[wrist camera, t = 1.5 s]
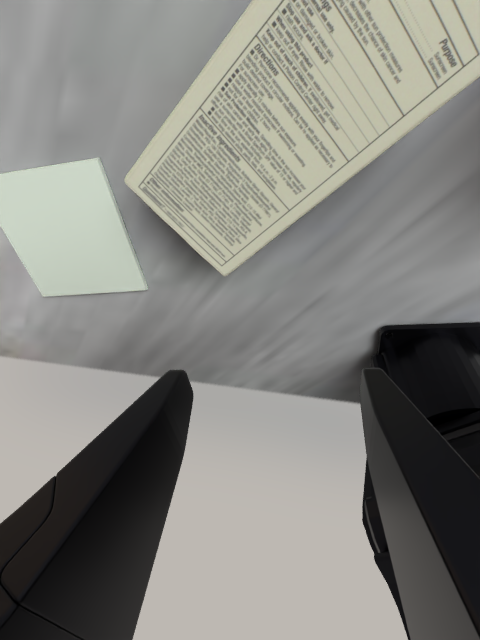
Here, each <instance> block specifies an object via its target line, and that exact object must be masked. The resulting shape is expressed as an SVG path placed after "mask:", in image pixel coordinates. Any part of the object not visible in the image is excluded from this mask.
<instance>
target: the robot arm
mask: <svg viewBox="0 0 480 640" xmlns="http://www.w3.org/2000/svg"><path fill="white" fill-rule="evenodd" d="M387 333H391V334H390V335H386V334H387ZM192 402H193V390H192V387H191V384H190V382H189V379H188V376H187V373H186V372H185V371H184V370H169V371H168V372H166V373H165V374H164V375H163V376H162V377H161V378H160V379H159V380H158V381H157V382H156V383H154V384H153V385H152V386H151V387H150V388H149V389H148V390H147V391H146V392H145V393H144V394H143V395H141V396H140V397H139V398H138V399H137V400H136V401H135V402H134V403H133V404H132V405H131V406H130V407H128V408H127V409H126V410H125V411H124V412H123V413H122V414H121V415H120V416H119V417H118V418H117V419H116V420H114V422H112V423H111V424H110V425H109V426H108V427H107V428H106V429H105V430H104V431H102V432H101V433H100V434H99V435H98V436H97V437H96V438H95V439H94V440H93V441H92V442H91V443H90V444H88V445H87V446H86V447H85V448H84V449H83V450H82V451H81V452H80V453H79V454H78V455H77V456H75V457H74V458H73V459H72V460H71V461H70V462H69V463H68V464H67V465H66V466H65V467H64V468H62V469H61V470H60V471H59V472H58V473H57V476H54V477H53V478H51V479H50V481H48V482H47V483H46V484H45V485H44V486H43V487H42V488H41V489H40V490H38V491H37V492H36V493H35V494H34V495H33V496H32V497H31V498H29V499H28V500H27V501H26V502H25V503H24V504H23V505H22V506H21V507H19V508H18V509H17V510H16V511H15V512H14V513H13V514H11V515H10V516H9V517H8V518H7V519H5V520H4V521H3V522H2V523H1V524H0V640H132V639H133V635H134V632H135V628H136V624H137V621H138V617H139V613H140V610H141V606H142V603H143V600H144V596H145V592H146V589H147V585H148V582H149V578H150V574H151V571H152V567H153V564H154V560H155V557H156V553H157V549H158V546H159V542H160V539H161V535H162V531H163V528H164V524H165V521H166V517H167V513H168V510H169V506H170V503H171V499H172V495H173V492H174V489H175V485H176V481H177V477H178V474H179V471H180V467H181V464H182V460H183V456H184V451H185V446H186V440H187V434H188V427H189V422H190V415H191V409H192ZM360 403H361V412H362V419H363V429H364V437H365V445H366V454H367V460H366V473H365V484H364V495H363V519H362V520H363V525H364V527H365V530H366V534H367V537H368V539H369V542H370V545H371V547H372V550H373V551H374V559H375V562H376V564H377V566H378V568H379V570H380V571H381V573H382V575H383V577H384V578H385V580H386V582H387V584H388V586H389V588H390V591H391V593H392V595H393V598H394V600H395V602H396V605H397V607H398V610H399V612H400V615H401V618H402V621H403V624H404V627H405V630H406V633H407V637H408V640H480V323H452V324H423V325H394V326H385V327H383V328H382V329H381V330H380V333H379V342H378V351H377V354H374V355H373V356H372V358H371V368H364V369H362V372H361V384H360Z"/></svg>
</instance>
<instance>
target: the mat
mask: <svg viewBox="0 0 480 640" xmlns="http://www.w3.org/2000/svg"><path fill="white" fill-rule="evenodd" d="M0 226H1V228H2V230H3V231H4V233H5V235H6V236H7V238H8V240H9V241H10V243H11V245H12V246H13V248H14V250H15V251H16V253H17V255H18V256H19V258H20V260H21V261H22V263H23V265H24V266H25V268H26V270H27V271H28V273H29V275H30V276H31V278H32V280H33V281H34V283H35V285H36V286H37V288H38V289H39V291H40V293H41V294H42V296H43V297H48V296H63V295H79V294H95V293H110V292H126V291H141V290H147V289H148V286H147V283H146V281H145V278H144V275H143V273H142V270H141V267H140V265H139V262H138V259H137V257H136V254H135V251H134V249H133V246H132V243H131V240H130V238H129V235H128V232H127V230H126V227H125V224H124V222H123V219H122V216H121V214H120V211H119V208H118V206H117V203H116V200H115V198H114V195H113V192H112V190H111V187H110V184H109V182H108V179H107V176H106V174H105V171H104V168H103V166H102V163H101V160H100V158H93V159H87V160H81V161H75V162H69V163H62V164H56V165H50V166H44V167H38V168H31V169H25V170H19V171H13V172H7V173H0Z"/></svg>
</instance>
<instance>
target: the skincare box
mask: <svg viewBox="0 0 480 640" xmlns="http://www.w3.org/2000/svg"><path fill="white" fill-rule="evenodd" d="M479 77H480V0H252V2H251V3H250V4H249V6H248V7H247V9H246V10H245V11H244V13H243V14H242V16H241V17H240V18H239V20H238V21H237V22H236V24H235V25H234V27H233V28H232V29H231V31H230V32H229V33H228V35H227V36H226V38H225V39H224V40H223V42H222V43H221V44H220V46H219V47H218V49H217V50H216V51H215V53H214V54H213V56H212V57H211V58H210V60H209V61H208V63H207V64H206V65H205V67H204V68H203V70H202V71H201V72H200V74H199V75H198V77H197V78H196V79H195V81H194V82H193V84H192V85H191V86H190V88H189V89H188V91H187V92H186V93H185V95H184V96H183V98H182V99H181V100H180V102H179V103H178V105H177V106H176V107H175V109H174V110H173V111H172V113H171V114H170V115H169V117H168V118H167V119H166V121H165V122H164V124H163V125H162V127H161V128H160V129H159V131H158V132H157V133H156V135H155V136H154V138H153V139H152V140H151V142H150V143H149V144H148V146H147V147H146V149H145V150H144V152H143V153H142V154H141V156H140V157H139V159H138V160H137V161H136V163H135V164H134V166H133V167H132V168H131V170H130V171H129V172H128V174H127V175H126V177H125V179H124V181H125V183H126V184H127V185H128V186H129V187H130V188H131V189H132V190H133V191H134V192H135V193H136V194H137V195H138V196H139V197H140V198H141V199H142V200H143V201H144V202H145V203H146V204H147V205H148V206H149V207H150V208H151V209H152V210H153V211H154V212H155V213H156V214H157V215H159V216H160V217H161V218H162V219H163V220H164V221H165V222H166V223H167V224H168V225H169V226H170V227H171V228H172V229H174V230H175V231H176V232H177V233H178V234H179V235H180V236H181V237H182V238H183V239H184V240H185V241H186V242H187V243H188V244H189V245H190V246H191V247H192V248H193V249H194V250H195V251H196V252H197V253H198V254H200V255H201V256H202V257H203V258H204V259H205V260H207V261H208V262H209V263H210V264H211V265H212V266H213V267H214V268H215V269H217V270H218V271H219V272H220V273H221V274H222V275H223V276H227V275H228V274H230V273H231V272H232V271H234V270H235V269H236V268H237V267H239V266H240V265H241V264H243V263H244V262H245V261H246V260H248V259H249V258H250V257H251V256H253V255H254V254H255V253H257V252H258V251H259V250H260V249H262V248H263V247H264V246H265V245H267V244H268V243H269V242H270V241H272V240H273V239H274V238H275V237H277V236H278V235H279V234H280V233H282V232H283V231H284V230H286V229H287V228H288V227H289V226H291V225H292V224H293V223H294V222H296V221H297V220H298V219H299V218H301V217H302V216H303V215H305V214H306V213H307V212H308V211H310V210H311V209H312V208H314V207H315V206H316V205H317V204H319V203H320V202H321V201H322V200H324V199H325V198H326V197H328V196H329V195H330V194H331V193H333V192H334V191H335V190H336V189H338V188H339V187H340V186H341V185H343V184H344V183H345V182H347V181H348V180H349V179H350V178H352V177H353V176H354V175H356V174H357V173H358V172H359V171H361V170H362V169H363V168H364V167H366V166H367V165H368V164H370V163H371V162H372V161H373V160H375V159H376V158H377V157H378V156H380V155H381V154H382V153H383V152H385V151H386V150H387V149H388V148H390V147H391V146H392V145H394V144H395V143H396V142H397V141H399V140H400V139H401V138H402V137H404V136H405V135H406V134H407V133H409V132H410V131H411V130H413V129H414V128H415V127H416V126H418V125H419V124H420V123H421V122H423V121H424V120H425V119H426V118H428V117H429V116H430V115H432V114H433V113H434V112H436V111H437V110H438V109H439V108H440V107H442V106H443V105H444V104H446V103H447V102H448V101H449V100H451V99H452V98H453V97H455V96H456V95H457V94H458V93H460V92H461V91H462V90H464V89H465V88H466V87H467V86H469V85H470V84H471V83H472V82H474V81H475V80H476V79H478V78H479Z"/></svg>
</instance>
